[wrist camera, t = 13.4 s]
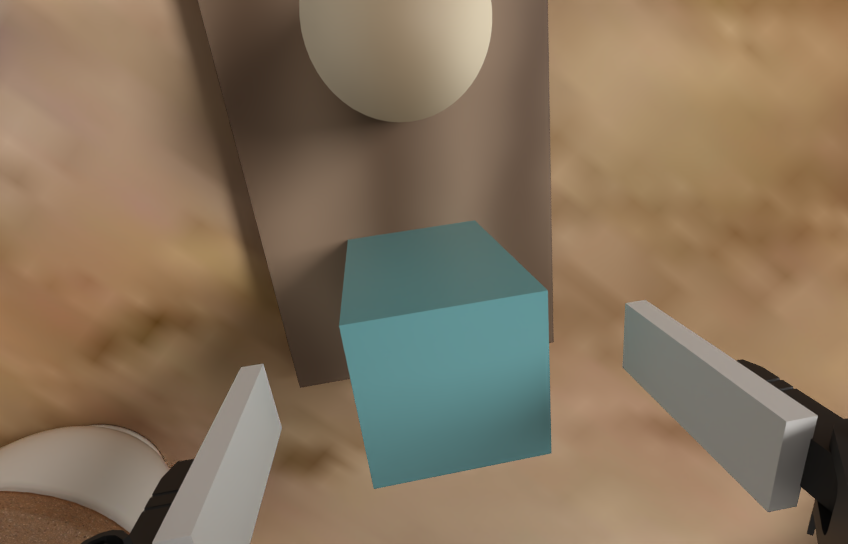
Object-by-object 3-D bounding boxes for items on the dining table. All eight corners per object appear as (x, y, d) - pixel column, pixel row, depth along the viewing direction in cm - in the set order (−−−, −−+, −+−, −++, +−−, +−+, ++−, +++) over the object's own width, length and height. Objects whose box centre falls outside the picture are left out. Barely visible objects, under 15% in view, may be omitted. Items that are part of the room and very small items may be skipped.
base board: (532, -84, 19) (546, -100, 17) (543, 329, 26) (553, 342, 24) (194, -52, 18) (180, -66, 16) (303, 372, 25) (300, 387, 23)
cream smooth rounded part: (439, -27, 19) (485, -107, 12) (452, 110, 21) (498, 110, 14) (309, -13, 19) (278, -89, 12) (334, 125, 21) (321, 133, 14)
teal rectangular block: (474, 220, 21) (547, 290, 13) (483, 332, 24) (551, 453, 15) (347, 239, 21) (339, 325, 13) (369, 352, 23) (373, 488, 15)
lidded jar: (241, 438, 26) (179, 607, 17) (157, 558, 28) (65, 762, 19) (45, 355, 22) (-155, 511, 14) (-31, 498, 25) (-246, 711, 16)
